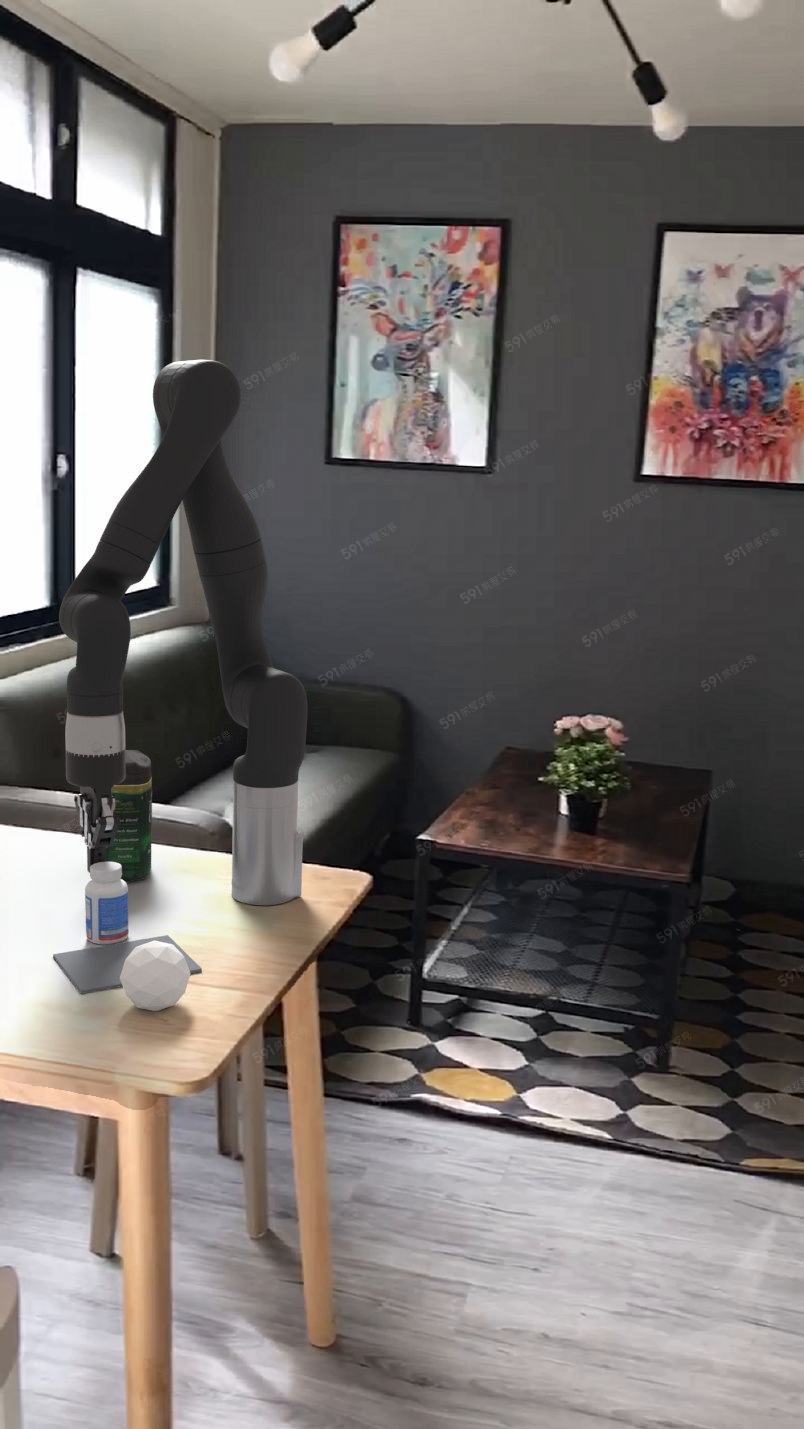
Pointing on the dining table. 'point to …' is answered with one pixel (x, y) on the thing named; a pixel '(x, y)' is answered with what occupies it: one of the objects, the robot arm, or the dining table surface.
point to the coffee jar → (133, 818)
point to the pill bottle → (106, 904)
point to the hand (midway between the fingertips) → (97, 873)
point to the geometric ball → (155, 975)
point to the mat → (106, 964)
